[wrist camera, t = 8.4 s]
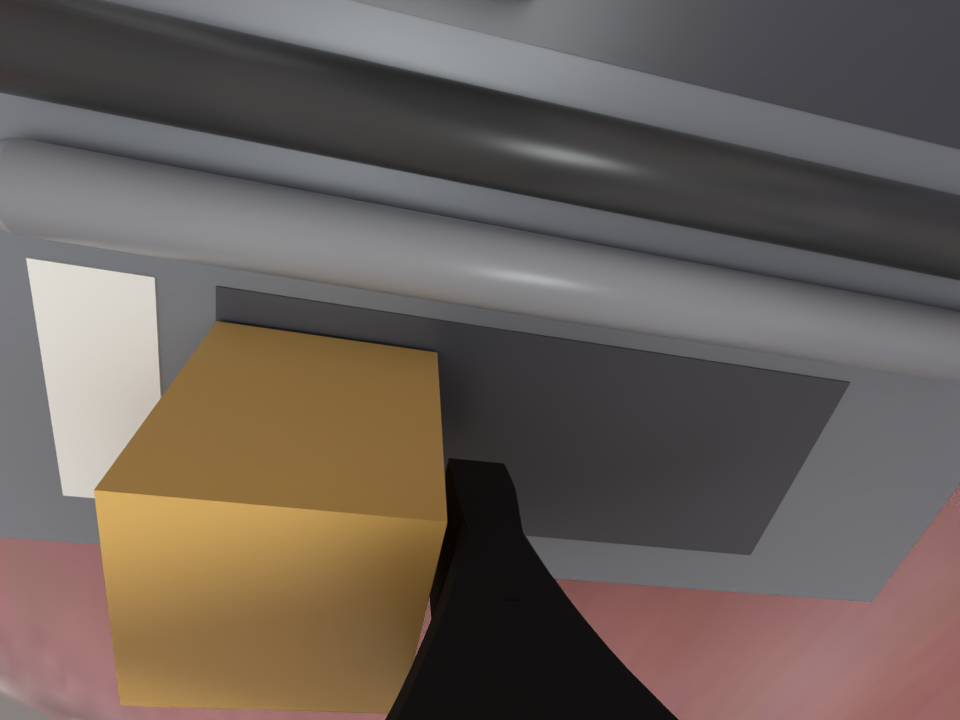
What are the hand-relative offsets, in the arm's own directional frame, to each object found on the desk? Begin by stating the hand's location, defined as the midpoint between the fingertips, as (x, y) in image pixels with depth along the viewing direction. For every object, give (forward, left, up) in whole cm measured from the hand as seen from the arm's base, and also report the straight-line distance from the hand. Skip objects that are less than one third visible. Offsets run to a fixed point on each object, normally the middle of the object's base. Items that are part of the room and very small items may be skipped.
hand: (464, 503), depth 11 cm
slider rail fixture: (-2, -5, -4) cm, 7 cm away
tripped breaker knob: (+3, 0, -2) cm, 3 cm away
